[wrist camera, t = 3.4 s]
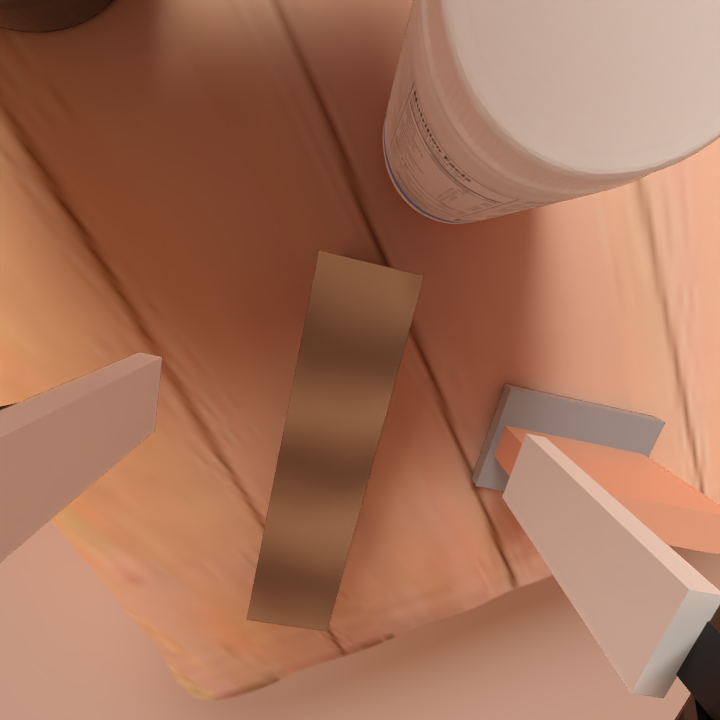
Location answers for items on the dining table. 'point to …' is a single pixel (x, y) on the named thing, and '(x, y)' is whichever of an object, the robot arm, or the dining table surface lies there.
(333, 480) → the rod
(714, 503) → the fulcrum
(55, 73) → the dining table surface
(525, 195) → the supplement tub
